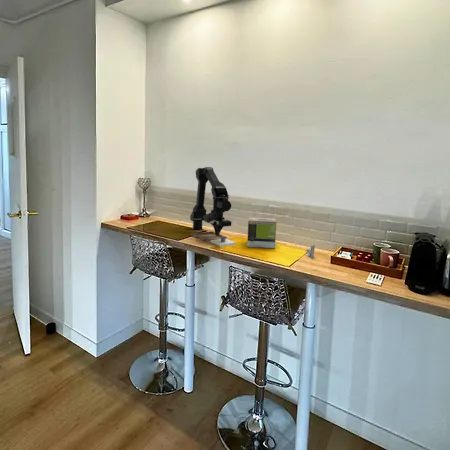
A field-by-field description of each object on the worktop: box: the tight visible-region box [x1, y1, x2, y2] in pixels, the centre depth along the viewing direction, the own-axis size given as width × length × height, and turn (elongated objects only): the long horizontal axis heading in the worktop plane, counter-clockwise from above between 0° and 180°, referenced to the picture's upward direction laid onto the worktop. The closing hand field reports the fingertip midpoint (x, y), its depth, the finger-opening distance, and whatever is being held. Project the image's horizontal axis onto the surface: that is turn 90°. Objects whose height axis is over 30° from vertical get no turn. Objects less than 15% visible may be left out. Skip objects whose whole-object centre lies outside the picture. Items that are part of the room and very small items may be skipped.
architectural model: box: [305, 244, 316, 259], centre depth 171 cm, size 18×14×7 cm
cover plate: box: [209, 235, 237, 248], centre depth 190 cm, size 10×10×5 cm
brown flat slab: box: [189, 230, 228, 242], centre depth 202 cm, size 16×15×2 cm
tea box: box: [246, 217, 277, 249], centre depth 189 cm, size 15×10×15 cm, turn 84°
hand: (217, 235), depth 194 cm, fingers closed
